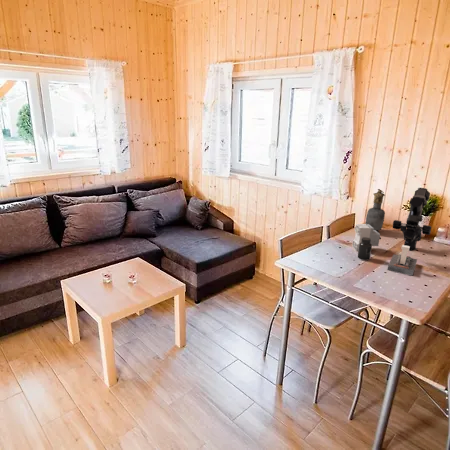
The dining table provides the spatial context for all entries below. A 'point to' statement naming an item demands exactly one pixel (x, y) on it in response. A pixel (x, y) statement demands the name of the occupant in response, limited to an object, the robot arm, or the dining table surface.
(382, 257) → the dining table surface
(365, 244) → the supplement bottle
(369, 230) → the circuit breaker
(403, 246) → the handle
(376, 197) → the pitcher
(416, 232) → the robot arm
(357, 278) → the dining table surface
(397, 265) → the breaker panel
